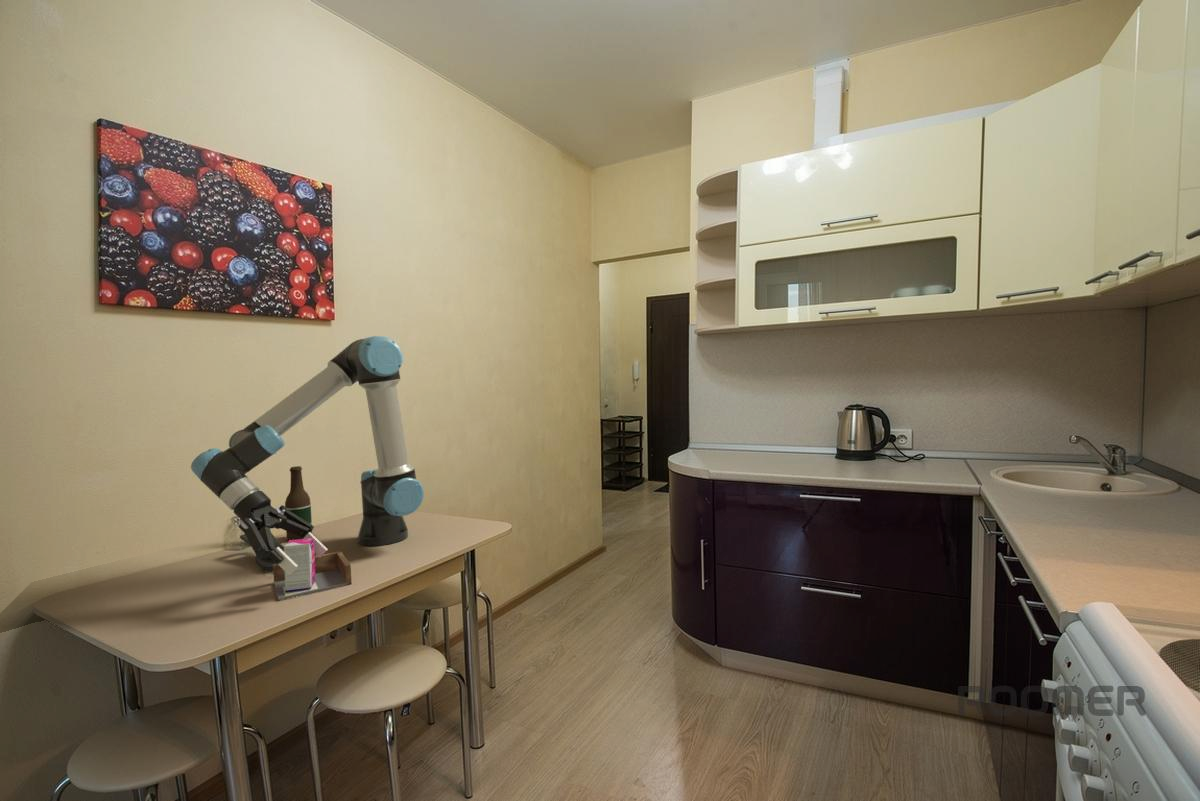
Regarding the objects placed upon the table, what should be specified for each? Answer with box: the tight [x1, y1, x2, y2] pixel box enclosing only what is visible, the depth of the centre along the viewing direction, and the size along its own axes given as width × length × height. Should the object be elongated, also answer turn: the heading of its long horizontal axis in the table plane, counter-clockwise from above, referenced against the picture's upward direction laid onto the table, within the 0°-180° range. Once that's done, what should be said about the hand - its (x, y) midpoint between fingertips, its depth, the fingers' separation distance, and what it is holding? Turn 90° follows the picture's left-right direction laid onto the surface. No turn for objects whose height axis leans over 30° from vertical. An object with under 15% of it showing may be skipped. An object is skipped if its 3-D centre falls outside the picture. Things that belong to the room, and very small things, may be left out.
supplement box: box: [283, 538, 316, 593], centre depth 132 cm, size 6×6×12 cm
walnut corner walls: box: [272, 550, 352, 586], centre depth 136 cm, size 16×14×5 cm
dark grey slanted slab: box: [239, 532, 285, 573], centre depth 156 cm, size 9×7×25 cm
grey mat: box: [273, 569, 352, 601], centre depth 136 cm, size 16×14×1 cm
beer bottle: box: [284, 465, 313, 541], centre depth 177 cm, size 8×8×24 cm
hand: (309, 561), depth 132 cm, fingers open, 11 cm apart
